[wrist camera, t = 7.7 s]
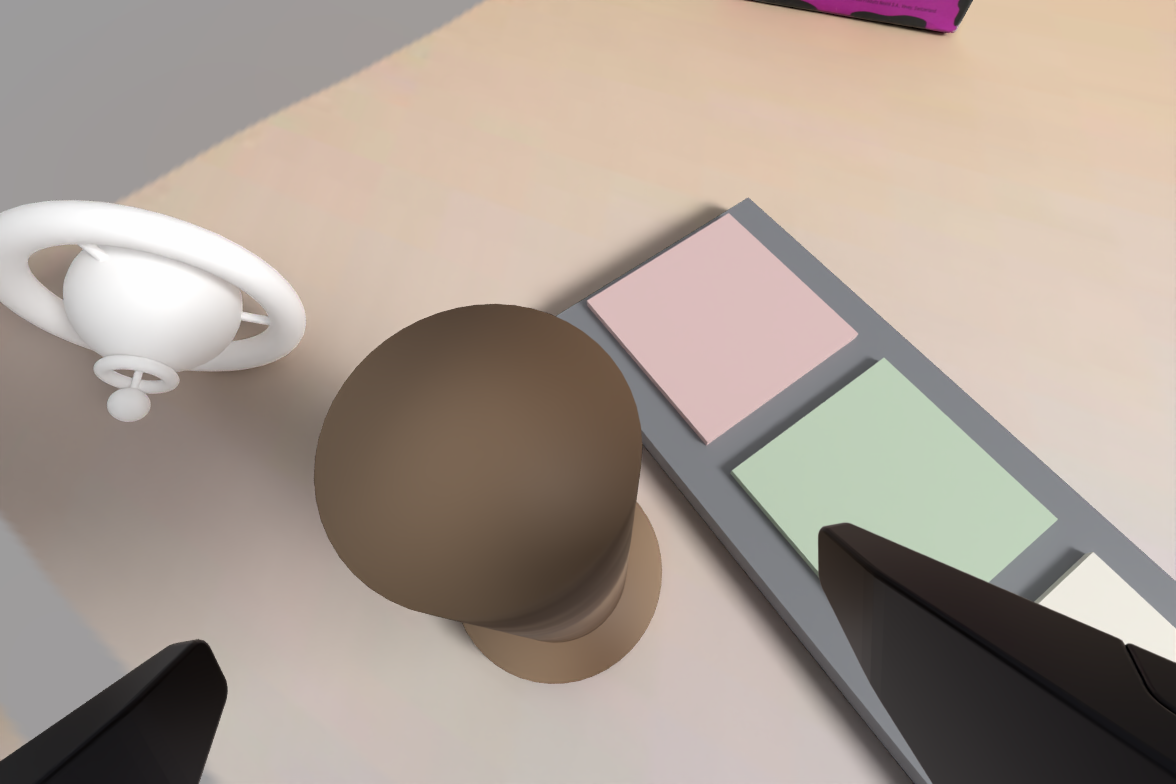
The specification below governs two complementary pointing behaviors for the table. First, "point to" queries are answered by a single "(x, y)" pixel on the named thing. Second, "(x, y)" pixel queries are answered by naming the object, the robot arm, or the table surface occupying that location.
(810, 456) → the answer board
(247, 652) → the table surface
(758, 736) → the table surface
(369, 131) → the table surface
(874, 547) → the robot arm
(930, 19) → the candy bar box
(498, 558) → the brown wooden peg
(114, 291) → the ring around a ball
